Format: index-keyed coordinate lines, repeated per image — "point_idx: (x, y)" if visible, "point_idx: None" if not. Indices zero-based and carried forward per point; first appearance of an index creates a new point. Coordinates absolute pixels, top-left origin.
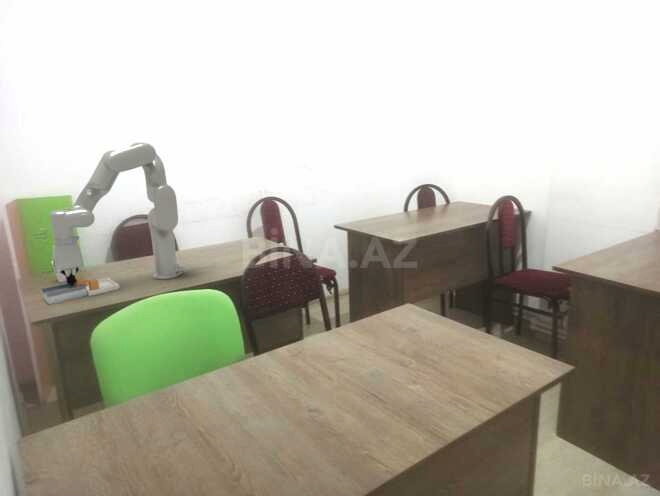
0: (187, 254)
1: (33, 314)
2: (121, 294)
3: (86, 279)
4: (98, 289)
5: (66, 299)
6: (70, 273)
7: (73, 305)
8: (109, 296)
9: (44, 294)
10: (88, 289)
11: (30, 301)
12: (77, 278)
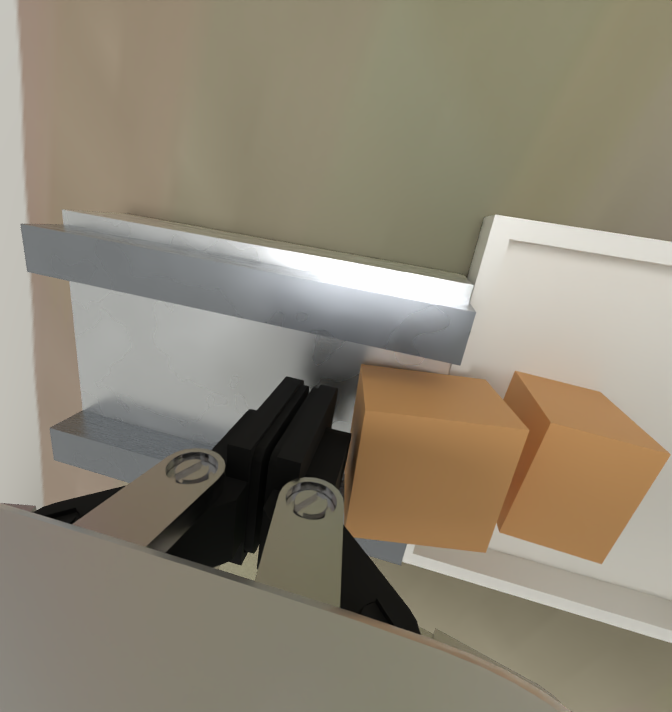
0: None
1: (44, 490)
2: (567, 689)
3: (472, 542)
4: (488, 583)
5: None
6: (264, 511)
7: (244, 567)
8: (487, 645)
9: (79, 319)
10: (495, 383)
11: (35, 196)
12: (393, 452)
